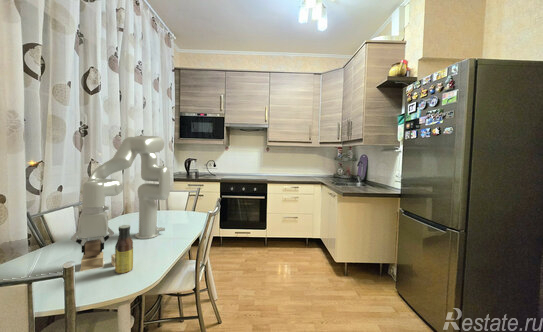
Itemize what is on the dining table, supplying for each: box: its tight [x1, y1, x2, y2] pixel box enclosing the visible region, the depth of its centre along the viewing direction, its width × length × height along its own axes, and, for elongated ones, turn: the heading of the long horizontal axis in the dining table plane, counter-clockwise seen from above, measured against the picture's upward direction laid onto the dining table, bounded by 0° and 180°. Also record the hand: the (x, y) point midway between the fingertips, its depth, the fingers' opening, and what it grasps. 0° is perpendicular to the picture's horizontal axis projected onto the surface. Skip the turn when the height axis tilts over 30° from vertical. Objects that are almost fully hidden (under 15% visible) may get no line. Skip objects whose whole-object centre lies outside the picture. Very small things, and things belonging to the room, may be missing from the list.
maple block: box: [110, 253, 115, 268], centre depth 101 cm, size 4×4×4 cm
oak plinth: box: [80, 251, 104, 272], centre depth 98 cm, size 7×7×4 cm
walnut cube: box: [85, 238, 101, 257], centre depth 98 cm, size 5×5×5 cm
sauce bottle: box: [114, 224, 134, 275], centre depth 95 cm, size 6×6×20 cm
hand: (93, 252), depth 98 cm, fingers closed on walnut cube, 4 cm apart
